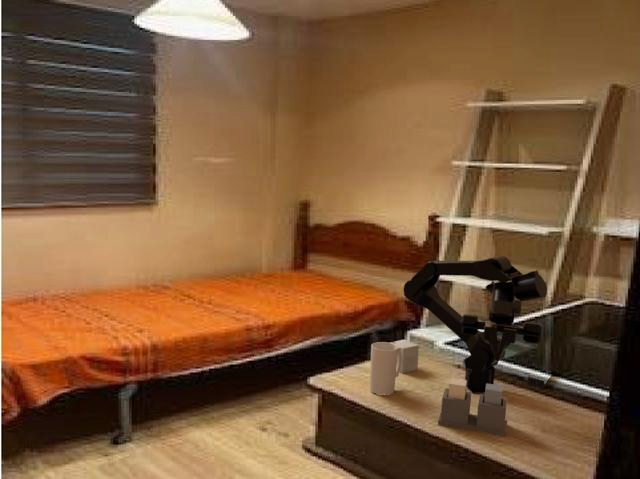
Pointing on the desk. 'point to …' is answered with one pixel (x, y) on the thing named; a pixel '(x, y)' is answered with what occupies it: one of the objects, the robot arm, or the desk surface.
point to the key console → (484, 421)
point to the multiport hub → (535, 382)
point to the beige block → (457, 388)
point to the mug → (384, 367)
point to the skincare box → (408, 355)
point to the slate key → (493, 394)
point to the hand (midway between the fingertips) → (497, 360)
